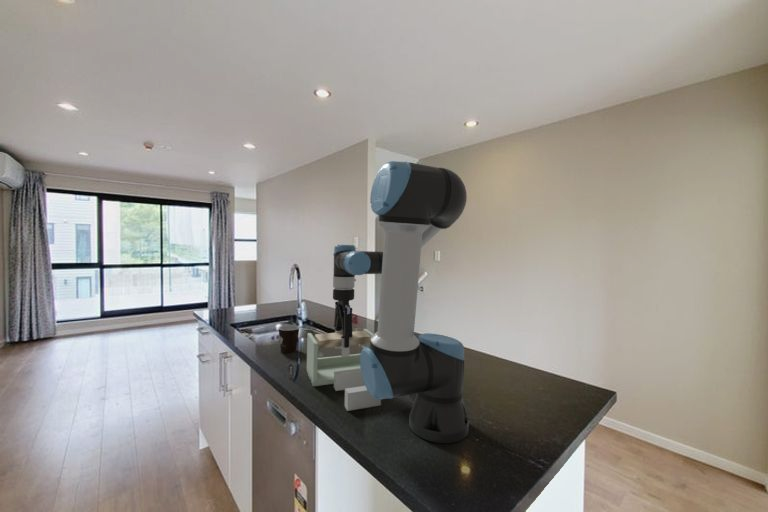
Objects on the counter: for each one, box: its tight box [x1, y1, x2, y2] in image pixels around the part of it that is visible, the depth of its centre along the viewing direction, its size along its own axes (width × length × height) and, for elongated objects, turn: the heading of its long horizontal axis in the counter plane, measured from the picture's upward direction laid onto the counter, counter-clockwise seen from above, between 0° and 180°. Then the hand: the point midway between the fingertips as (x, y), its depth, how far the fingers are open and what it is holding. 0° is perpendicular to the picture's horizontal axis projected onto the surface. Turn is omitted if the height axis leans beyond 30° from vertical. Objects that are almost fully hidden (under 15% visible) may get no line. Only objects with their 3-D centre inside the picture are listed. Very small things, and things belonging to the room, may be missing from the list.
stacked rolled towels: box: [314, 330, 370, 349], centre depth 113 cm, size 18×8×2 cm, turn 113°
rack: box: [333, 368, 382, 412], centre depth 98 cm, size 16×10×5 cm, turn 23°
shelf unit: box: [306, 328, 374, 387], centre depth 114 cm, size 13×22×14 cm, turn 113°
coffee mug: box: [278, 324, 300, 354], centre depth 136 cm, size 12×9×10 cm
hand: (342, 352), depth 114 cm, fingers closed on stacked rolled towels, 8 cm apart
